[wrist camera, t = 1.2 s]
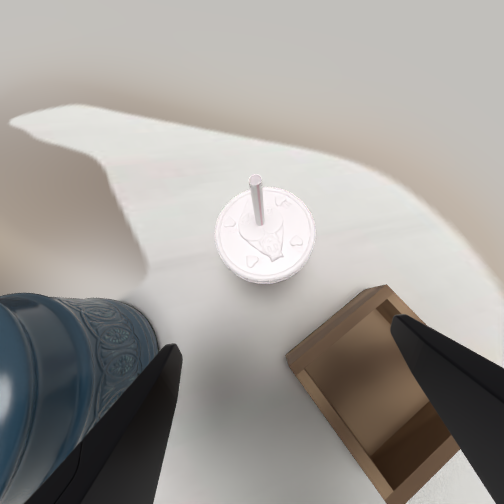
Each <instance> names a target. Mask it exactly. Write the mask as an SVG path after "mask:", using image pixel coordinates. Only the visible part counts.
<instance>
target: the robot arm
mask: <svg viewBox="0 0 504 504" xmlns="http://www.w3.org/2000/svg"><path fill="white" fill-rule="evenodd" d="M390 332H391V335H392V337H393V339H394V341H395V343H396V344H397V346H398V348H399V350H400V352H401V354H402V356H403V358H404V360H405V362H406V364H407V365H408V367H409V369H410V371H411V373H412V374H413V376H414V378H415V379H416V381H417V382H418V384H419V386H420V387H421V389H422V390H423V392H424V393H425V395H426V396H427V398H428V399H429V401H430V402H431V404H432V406H433V407H434V409H435V410H436V412H437V413H438V415H439V416H440V418H441V419H442V421H443V423H444V424H445V426H446V427H447V429H448V430H449V432H450V433H451V435H452V436H453V438H454V440H455V441H456V443H457V444H458V446H459V447H460V449H461V450H462V452H463V453H464V455H465V457H466V458H467V460H468V461H469V463H470V464H471V466H472V467H473V469H474V470H475V472H476V474H477V475H478V477H479V478H480V480H481V481H482V483H483V484H484V486H485V487H486V489H487V490H488V492H489V494H490V495H491V497H492V498H493V500H494V501H495V503H496V504H504V368H502V367H500V366H499V365H497V364H495V363H493V362H491V361H490V360H488V359H486V358H484V357H482V356H481V355H479V354H477V353H475V352H473V351H472V350H470V349H468V348H466V347H464V346H463V345H461V344H459V343H457V342H455V341H454V340H452V339H450V338H448V337H446V336H445V335H443V334H441V333H439V332H437V331H436V330H434V329H432V328H430V327H428V326H427V325H425V324H423V323H421V322H419V321H418V320H416V319H414V318H412V317H410V316H409V315H406V314H399V315H395V316H394V317H393V320H392V324H391V328H390ZM182 361H183V358H182V354H181V352H180V350H179V348H178V346H177V344H167V345H165V346H164V347H163V348H162V349H161V350H160V352H159V353H158V354H157V355H156V356H155V357H154V358H153V360H152V361H151V362H150V363H149V364H148V365H147V366H146V368H145V369H144V370H143V371H142V372H141V373H140V374H139V376H138V377H137V378H136V379H135V380H134V381H133V382H132V384H131V385H130V386H129V387H128V388H127V389H126V390H125V391H124V393H123V394H122V395H121V396H120V397H119V398H118V399H117V401H116V402H115V403H114V404H113V405H112V406H111V407H110V409H109V410H108V411H107V412H106V413H105V414H104V415H103V417H102V418H101V419H100V420H99V421H98V422H97V423H96V425H95V426H94V427H93V428H92V429H91V430H90V431H89V433H88V434H87V435H86V436H85V437H84V438H83V441H81V442H80V443H79V444H78V445H77V446H76V447H75V448H74V450H73V451H72V452H71V453H70V454H69V455H68V456H67V457H66V459H65V460H64V461H63V462H62V463H61V464H60V465H59V466H58V467H57V469H56V470H55V471H54V472H53V473H52V474H51V475H50V476H49V477H48V478H47V479H46V480H45V482H44V483H43V484H42V485H41V486H40V487H39V488H38V489H37V490H36V491H35V492H34V493H33V494H32V495H31V496H30V497H29V498H28V500H27V501H26V502H25V503H24V504H153V502H154V497H155V493H156V489H157V485H158V480H159V476H160V472H161V467H162V463H163V459H164V455H165V450H166V446H167V442H168V438H169V433H170V429H171V425H172V420H173V416H174V412H175V408H176V403H177V397H178V391H179V383H180V376H181V369H182Z"/></svg>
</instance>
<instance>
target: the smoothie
mask: <svg viewBox="0 0 504 504" xmlns="http://www.w3.org/2000/svg"><path fill="white" fill-rule="evenodd" d="M249 185H250V189H249V190H246V191H244V192H242V193H240V194H238V195H236V196H235V197H234V198H232V199H231V200H230V201H229V202H228V203H227V204H226V205H225V206H224V208H223V209H222V211H221V212H220V214H219V216H218V219H217V222H216V226H215V243H216V247H217V250H218V253H219V255H220V257H221V258H222V260H223V261H224V263H225V265H226V266H227V267H228V268H229V269H230V270H231V271H232V272H233V273H234V274H235V275H237V276H239V277H240V278H242V279H244V280H246V281H249V282H253V283H258V284H273V283H277V282H280V281H283V280H286V279H288V278H290V277H291V276H293V275H294V274H296V273H298V272H299V270H300V269H301V268H302V267H303V266H304V265H305V264H306V263H307V261H308V259H309V257H310V255H311V253H312V250H313V247H314V244H315V238H316V228H315V222H314V219H313V216H312V214H311V212H310V210H309V209H308V207H307V206H306V205H305V203H304V202H303V201H302V200H301V199H299V198H298V197H297V196H295V195H294V194H292V193H290V192H288V191H286V190H283V189H280V188H276V187H262V178H261V176H260V175H258V174H253V175H251V176H250V177H249Z"/></svg>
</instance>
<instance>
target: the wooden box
mask: <svg viewBox="0 0 504 504" xmlns="http://www.w3.org/2000/svg"><path fill="white" fill-rule="evenodd" d="M399 314H406V315H409V316H410V317H412V318H414V319H416V320H418V321H419V322H421V323H423V324H425V323H424V322H423V321H422V320H421V319H420V318H419V317H418V316H417V315H416V314H415V313H414V312H413V311H412V310H411V309H410V308H409V307H408V306H407V305H406V304H405V303H404V302H403V301H402V300H401V299H400V298H399V297H398V296H397V295H396V294H395V292H394V291H393V290H392V289H391V288H390V287H389V286H388V285H387V284H386V285H382V286H377V287H373V288H369V289H365V290H363V291H362V292H361V293H360V294H359V295H357V296H356V297H355V298H354V299H353V300H351V301H350V302H349V303H348V304H347V305H345V306H344V307H343V308H342V309H340V310H339V311H338V312H337V313H336V314H334V315H333V316H332V317H331V318H330V319H328V320H327V321H326V322H325V323H324V324H322V325H321V326H320V327H319V328H318V329H316V330H315V331H314V332H313V333H311V334H310V335H309V336H308V337H307V338H305V339H304V340H303V341H302V342H301V343H299V344H298V345H297V346H296V347H295V348H293V349H292V350H291V351H290V352H289V353H287V354H286V355H285V356H286V359H287V362H288V365H289V367H290V369H291V370H292V371H293V373H294V374H295V376H296V377H297V378H298V380H299V381H300V383H301V384H302V385H303V387H304V388H305V390H306V391H307V393H308V394H309V395H310V397H311V398H312V400H313V401H314V402H315V404H316V405H317V407H318V408H319V409H320V411H321V412H322V414H323V415H324V416H325V418H326V419H327V421H328V422H329V423H330V425H331V426H332V428H333V429H334V430H335V432H336V433H337V435H338V436H339V437H340V439H341V440H342V442H343V443H344V444H345V446H346V447H347V449H348V450H349V451H350V453H351V454H352V456H353V457H354V458H355V460H356V461H357V463H358V464H359V465H360V467H361V468H362V470H363V471H364V472H365V474H366V475H367V477H368V478H369V479H370V481H371V482H372V484H373V485H374V486H375V488H376V489H377V491H378V492H379V493H380V495H381V496H382V498H383V499H384V500H385V502H386V503H387V504H405V503H406V502H407V501H408V500H409V499H410V498H412V497H413V496H414V495H415V494H416V493H417V492H418V491H419V490H420V489H421V488H422V487H423V486H424V485H425V484H426V483H427V482H428V481H429V480H430V479H431V478H432V477H433V476H434V475H435V474H436V473H437V472H438V471H439V470H440V469H441V468H442V467H443V466H444V465H445V464H446V463H447V462H448V461H449V460H450V459H451V458H452V457H453V456H454V455H455V454H456V453H457V452H458V451H459V450H460V447H459V446H458V444H457V443H456V441H455V440H454V438H453V436H452V435H451V433H450V432H449V430H448V429H447V427H446V426H445V424H444V423H443V421H442V419H441V418H440V416H439V415H438V413H437V412H436V410H435V409H434V407H433V406H432V404H431V402H430V401H429V399H428V398H427V396H426V395H425V393H424V392H423V390H422V389H421V387H420V386H419V384H418V382H417V381H416V379H415V378H414V376H413V374H412V373H411V371H410V369H409V367H408V365H407V364H406V362H405V360H404V358H403V356H402V354H401V352H400V350H399V348H398V346H397V344H396V343H395V341H394V339H393V337H392V335H391V332H390V328H391V324H392V320H393V317H394V316H395V315H399ZM425 325H426V324H425Z"/></svg>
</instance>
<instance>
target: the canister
mask: <svg viewBox="0 0 504 504" xmlns="http://www.w3.org/2000/svg"><path fill="white" fill-rule="evenodd" d="M157 354H158V345H157V340H156V337H155V334H154V331H153V329H152V327H151V325H150V324H149V322H148V320H147V319H146V318H145V317H144V316H143V315H142V314H141V313H140V312H139V311H138V310H136V309H135V308H133V307H131V306H129V305H127V304H124V303H122V302H119V301H116V300H112V299H103V298H87V299H76V298H60V297H47V296H44V295H40V294H34V293H14V294H7V295H3V296H0V504H24V503H25V502H26V501H27V500H28V498H29V497H30V496H31V495H32V494H33V493H34V492H35V491H36V490H37V489H38V488H39V487H40V486H41V485H42V484H43V483H44V482H45V480H46V479H47V478H48V477H49V476H50V475H51V474H52V473H53V472H54V471H55V470H56V469H57V467H58V466H59V465H60V464H61V463H62V462H63V461H64V460H65V459H66V457H67V456H68V455H69V454H70V453H71V452H72V451H73V450H74V448H75V447H76V446H77V445H78V444H79V443H80V442H81V441H83V438H84V437H85V436H86V435H87V434H88V433H89V431H90V430H91V429H92V428H93V427H94V426H95V425H96V423H97V422H98V421H99V420H100V419H101V418H102V417H103V415H104V414H105V413H106V412H107V411H108V410H109V409H110V407H111V406H112V405H113V404H114V403H115V402H116V401H117V399H118V398H119V397H120V396H121V395H122V394H123V393H124V391H125V390H126V389H127V388H128V387H129V386H130V385H131V384H132V382H133V381H134V380H135V379H136V378H137V377H138V376H139V374H140V373H141V372H142V371H143V370H144V369H145V368H146V366H147V365H148V364H149V363H150V362H151V361H152V360H153V358H154V357H155V356H156V355H157Z"/></svg>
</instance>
